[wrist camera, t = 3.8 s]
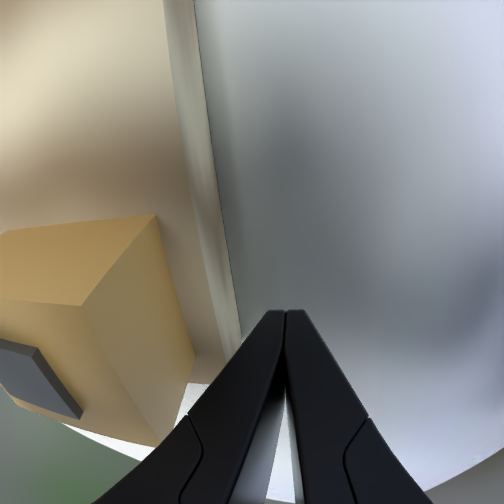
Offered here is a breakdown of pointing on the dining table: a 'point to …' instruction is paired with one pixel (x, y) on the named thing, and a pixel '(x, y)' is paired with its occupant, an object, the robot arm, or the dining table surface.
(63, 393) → the block
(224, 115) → the dining table surface
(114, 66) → the subfloor board
